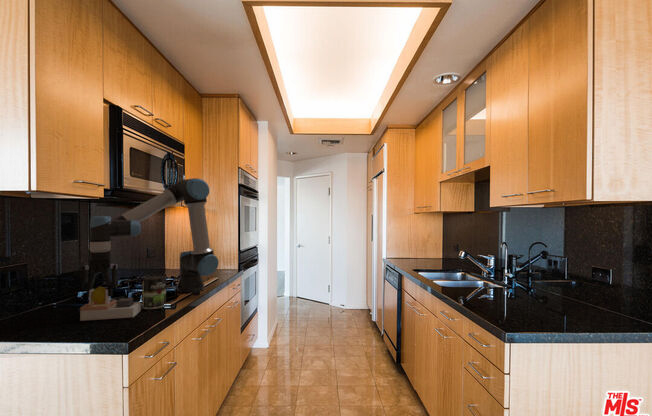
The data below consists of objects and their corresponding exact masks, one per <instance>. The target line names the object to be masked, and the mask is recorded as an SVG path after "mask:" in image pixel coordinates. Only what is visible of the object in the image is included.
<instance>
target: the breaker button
mask: <svg viewBox="0 0 652 416" xmlns="http://www.w3.org/2000/svg"><path fill="white" fill-rule="evenodd" d="M133 302H134V298H133V297H123V298H122V297H121V298H119V299H118V300H117V301H116V308H121V307H131V306H132V305H133Z"/></svg>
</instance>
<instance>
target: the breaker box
mask: <svg viewBox="0 0 652 416" xmlns="http://www.w3.org/2000/svg"><path fill="white" fill-rule="evenodd" d="M116 301H118V300H117V299H110V303H109V304H107V305H105V301H104V302H103V303H102V304H100V305H99V304H98V303H95V302H94V304H93V305H90V306H89V302H88V303H86V304H84V305H82V306H80V309H79V310H80V312H79V315H80V317H79V322H83V321H97V320H99V321H100V320H112V319H126V318H127V319H128V318H129V319H130V318H134V317H136V316H137V315H138V314H139V313H140V312H141V311H142V301H133V305H132V306H131V307H121V308H116Z"/></svg>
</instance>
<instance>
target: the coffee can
mask: <svg viewBox="0 0 652 416" xmlns="http://www.w3.org/2000/svg"><path fill="white" fill-rule="evenodd" d="M165 303H166V304H167V275H164V274H163V275H160V274H159V275H158V274H157V275H148V276H144V277H142V300H141V309H143V310H155V309H156V310H157V309H161V308H164V307H165V306H164V304H165Z"/></svg>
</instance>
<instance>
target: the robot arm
mask: <svg viewBox="0 0 652 416" xmlns="http://www.w3.org/2000/svg"><path fill="white" fill-rule="evenodd" d="M209 195H210V187H209V184H208V183H207V182H206V181H205V180H204V179H201V178H187V179H181V180H178V181H177V182H175V183H174V184H172V185H169V186H168V187H167V188H165V189H164V190H163V192H160V193H159V194H157V195H156V196H154V197H152V198H150V199H149V200H146V201H144V202H142V203H141V204H139V205H137V206H136V207H134V208H132V209H130V210H128V211H126V212H124V213H123V214H121V215H119V216H117V217H115V218H113V219H112V217H111V216H109V215H107V216H105V215H103V216H101V215H97V216H96V215H94V216H91V217H90V219H89V220H90V221H89V251H90V252H89V263H88V264H86V265H83V266H81V267H80V269H81V271H82V278H81V289H82V290H86V297H87V298H88V303H89V306H90V305H93V304H94V301H93V299H92V294H93V291H94V290H95V288H93V287H94V284H95V280H96V277H97V275H98V274H99V273H101V274H102V275H103V278H104V282H105V284H106V288H105V289H106V290H105V305H107V304H109V303H110V300H111V296H113V289H114V288H116V287H117V286H118V269H119V264H117V263H116V264H114V263H112V262H111V245H112V244H111V243H112V241H111V239H112V238H118V237H135V236H138V235H140V234H141V230H142V226H141V225H142V224H141V222H143V221H144V220H146V219H148V218H149V217H151V216H153V215H155V214H157V213H158V212H160V211H161V210H163V209H165V208H167V207H169V206H170V205H175V204H177V203H179V202H183V203H184V205H185V207H187V211H188V217H189V226H190V231H191V241H192V247H193V249H192V250H187V251H182V252H180V253H179V254H180V255H179V279H178V282H177V284H176V287H175V290H176V289H177V291H178V292H177V291H176V292H177V293H179V292H192V293H198V292H201V291H204V290H205V283H204V280H203V277H202V276H212V275H214V274H215V272H216V270H217V269H218V267H219V263H220V262H219V259H218V257H217V256H216V255H214V249H213V248H212V247H211V246H210V238H209V231H208V222H207V216H206V208H205V207H206V204H207V202H208V201H207V200H208V199H207V198H208V197H209ZM90 269H91V272H90V277H89V270H90ZM109 269H111V276H110V270H109Z"/></svg>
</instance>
